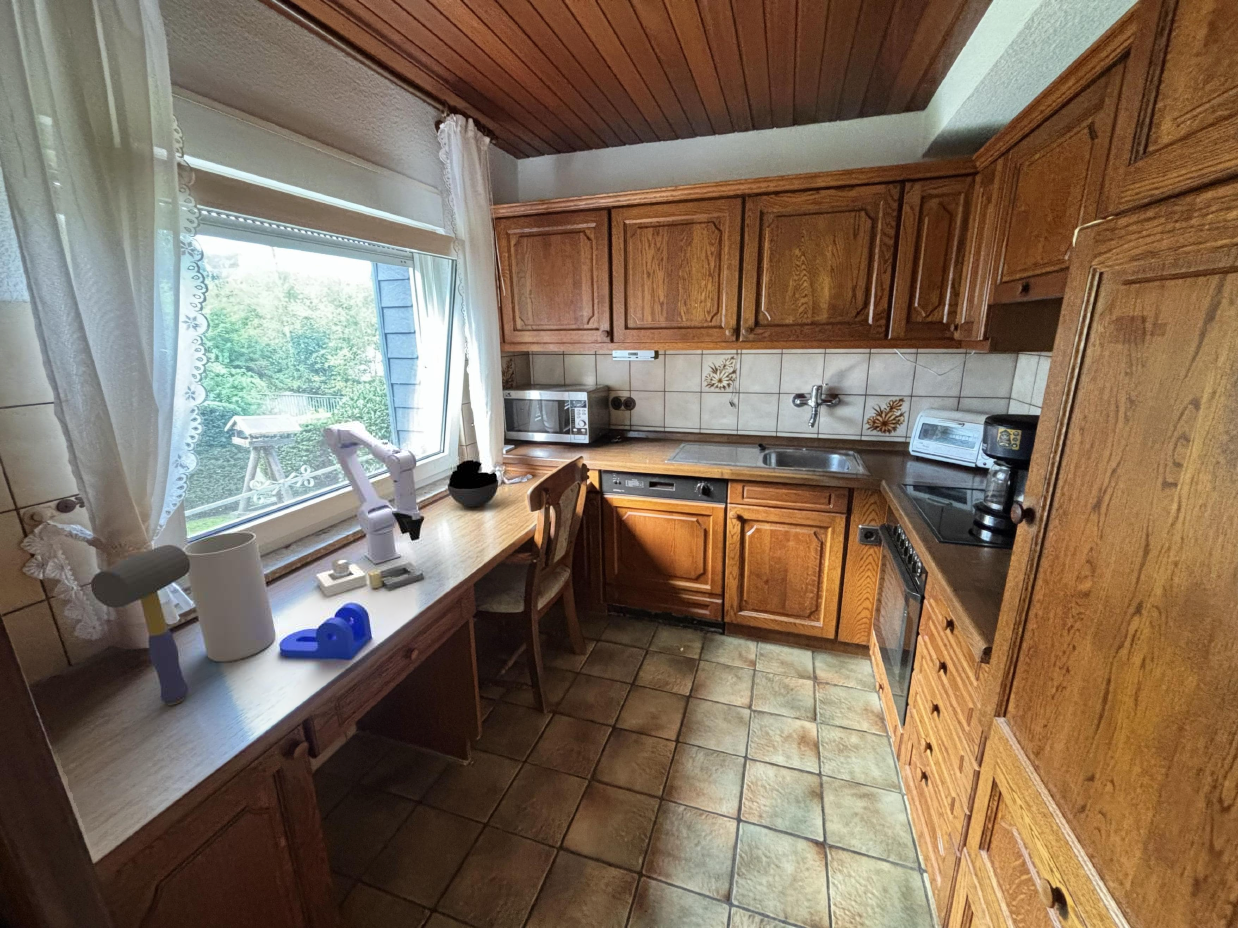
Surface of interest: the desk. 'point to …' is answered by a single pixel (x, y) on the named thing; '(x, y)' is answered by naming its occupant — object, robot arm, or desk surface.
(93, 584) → the rubber mallet
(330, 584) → the white square block
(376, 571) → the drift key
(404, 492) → the robot arm
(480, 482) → the bowl of black rocks
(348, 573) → the metal cylinder
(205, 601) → the cylinder vase
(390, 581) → the socket block
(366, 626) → the bracket
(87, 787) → the desk surface
